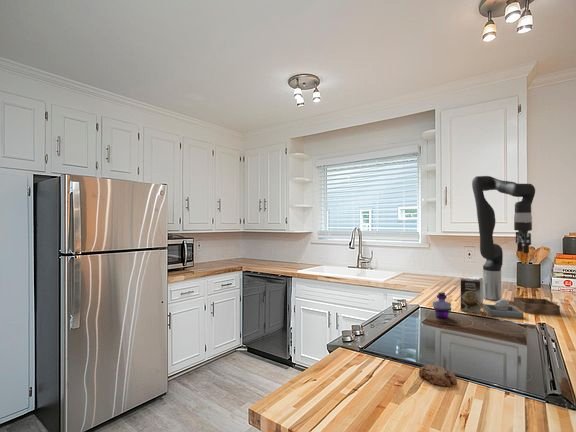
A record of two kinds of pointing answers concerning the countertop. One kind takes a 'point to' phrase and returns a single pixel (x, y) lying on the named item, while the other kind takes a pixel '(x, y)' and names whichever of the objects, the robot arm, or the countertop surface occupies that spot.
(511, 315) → the charcoal tray
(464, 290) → the coffee box
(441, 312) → the potion bottle
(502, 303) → the frog figurine
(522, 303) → the walnut frame
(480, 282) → the skincare box
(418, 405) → the countertop surface
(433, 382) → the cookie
